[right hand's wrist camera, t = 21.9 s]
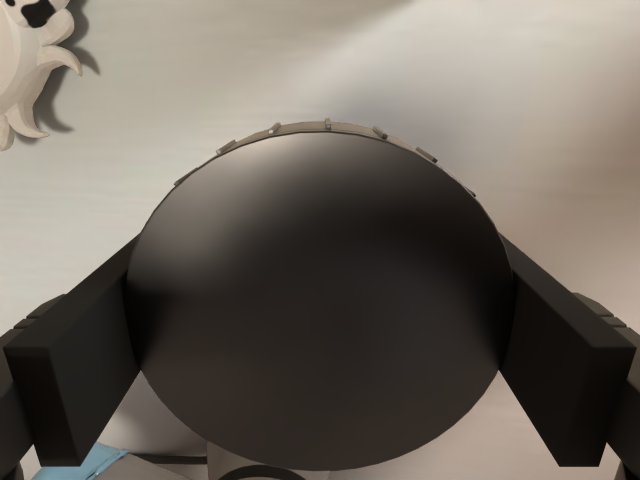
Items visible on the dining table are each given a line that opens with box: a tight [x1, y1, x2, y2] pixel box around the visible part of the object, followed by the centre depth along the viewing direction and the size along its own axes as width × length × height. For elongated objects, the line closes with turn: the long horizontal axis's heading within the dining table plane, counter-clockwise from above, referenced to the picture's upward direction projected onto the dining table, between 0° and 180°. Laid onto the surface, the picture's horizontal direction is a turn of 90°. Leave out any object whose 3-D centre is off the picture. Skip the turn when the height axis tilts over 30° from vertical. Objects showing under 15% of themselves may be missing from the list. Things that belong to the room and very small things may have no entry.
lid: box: [124, 118, 515, 471], centre depth 11 cm, size 9×9×2 cm
